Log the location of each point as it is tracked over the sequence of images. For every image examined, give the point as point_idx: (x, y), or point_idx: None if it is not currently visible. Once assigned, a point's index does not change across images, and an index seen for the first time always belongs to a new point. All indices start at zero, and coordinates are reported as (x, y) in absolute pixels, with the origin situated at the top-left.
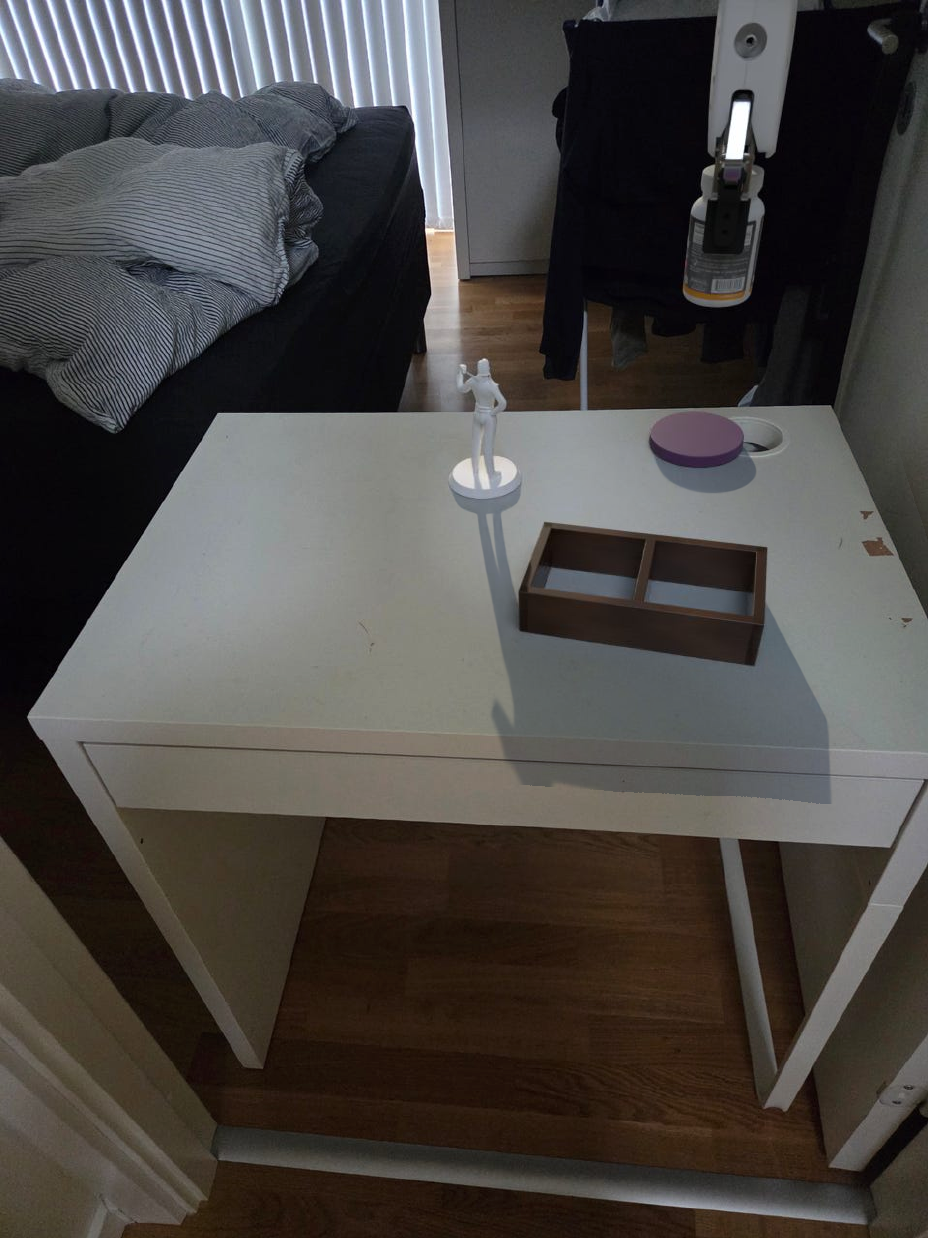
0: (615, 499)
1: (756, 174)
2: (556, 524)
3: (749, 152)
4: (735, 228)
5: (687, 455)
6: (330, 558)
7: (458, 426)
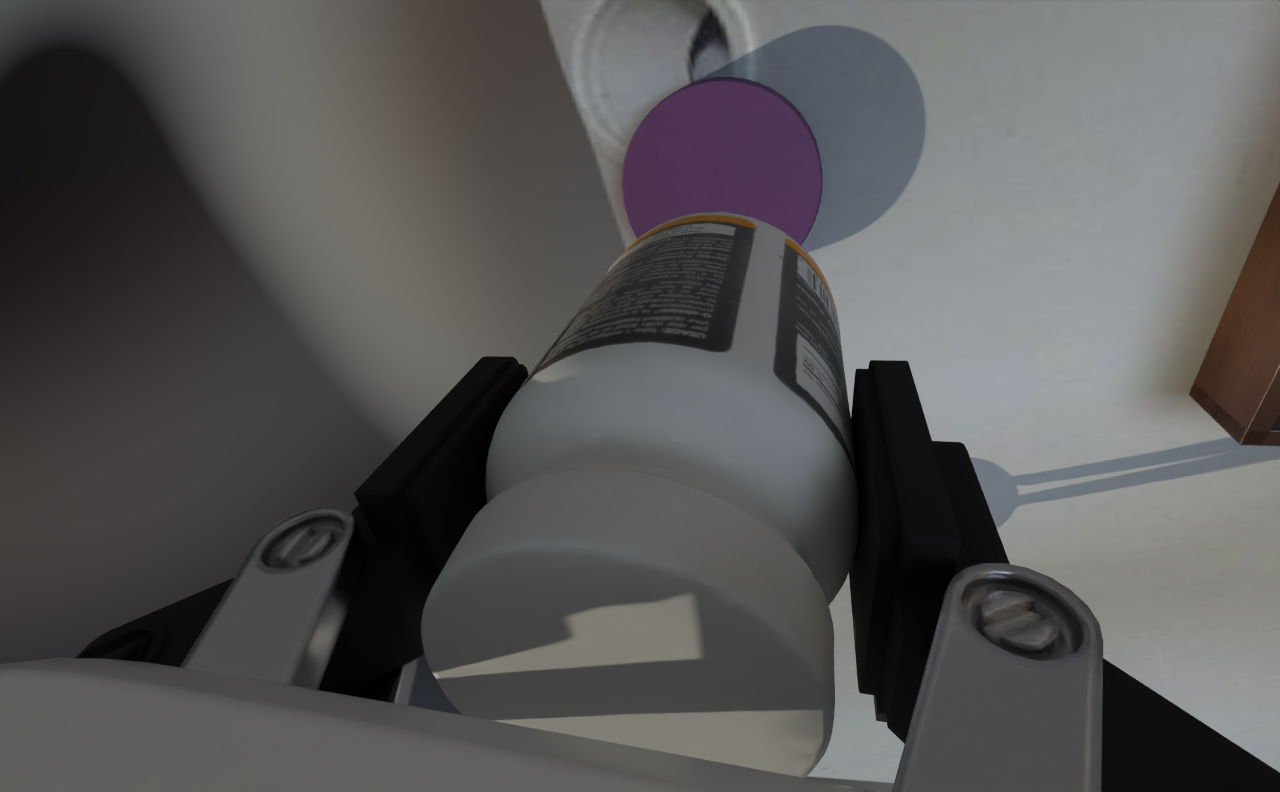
0: (962, 307)
1: (706, 601)
2: (1256, 423)
3: (324, 652)
4: (979, 488)
5: (818, 198)
6: (1145, 650)
7: None
